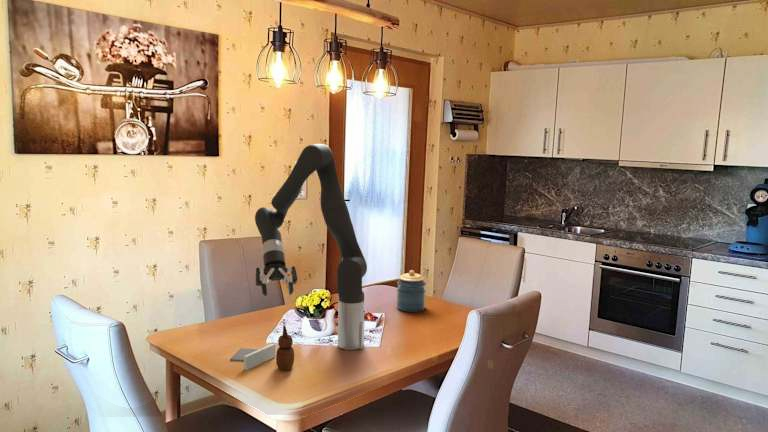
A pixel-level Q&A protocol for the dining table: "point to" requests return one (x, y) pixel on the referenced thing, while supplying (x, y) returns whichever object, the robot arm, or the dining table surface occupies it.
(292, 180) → the robot arm
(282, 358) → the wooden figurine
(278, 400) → the dining table surface
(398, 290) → the canister
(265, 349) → the frosted wall
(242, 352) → the slate coaster
